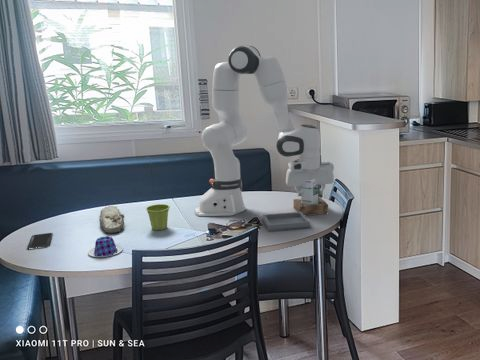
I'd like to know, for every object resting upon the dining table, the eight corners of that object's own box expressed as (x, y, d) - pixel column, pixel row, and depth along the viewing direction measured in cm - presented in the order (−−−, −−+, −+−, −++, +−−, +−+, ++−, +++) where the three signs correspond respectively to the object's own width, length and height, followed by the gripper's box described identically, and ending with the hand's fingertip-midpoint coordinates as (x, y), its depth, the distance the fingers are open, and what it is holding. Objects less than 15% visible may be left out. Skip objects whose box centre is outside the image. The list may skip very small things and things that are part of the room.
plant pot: (176, 226, 198) (174, 205, 196) (160, 233, 190) (158, 212, 188) (159, 223, 203) (157, 203, 201) (142, 229, 195) (140, 209, 193)
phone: (26, 247, 179) (32, 235, 193) (27, 250, 179) (32, 237, 193) (49, 244, 181) (53, 232, 195) (50, 247, 181) (53, 235, 195)
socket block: (300, 216, 203) (299, 206, 202) (293, 208, 215) (293, 199, 214) (328, 213, 204) (328, 204, 203) (320, 205, 216) (320, 197, 215)
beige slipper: (121, 212, 226) (99, 217, 223) (119, 201, 225) (97, 205, 222) (128, 231, 193) (102, 236, 190) (126, 218, 192) (100, 223, 189)
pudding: (115, 244, 181) (113, 230, 180) (128, 252, 172) (127, 238, 171) (83, 252, 175) (81, 238, 173) (95, 261, 165) (93, 247, 164)
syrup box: (313, 213, 206) (312, 180, 202) (300, 211, 209) (300, 178, 206) (319, 210, 210) (319, 177, 207) (307, 208, 213) (307, 176, 210)
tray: (268, 231, 186) (268, 225, 185) (262, 220, 200) (262, 214, 199) (309, 228, 188) (309, 221, 187) (301, 217, 201) (301, 211, 201)
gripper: (331, 160, 209) (331, 191, 212) (284, 163, 207) (285, 194, 210) (335, 163, 203) (335, 195, 206) (287, 166, 201) (288, 198, 204)
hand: (309, 195), depth 208 cm, fingers closed on syrup box, 8 cm apart
